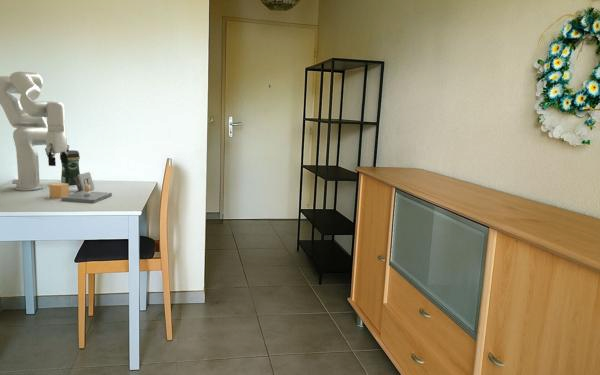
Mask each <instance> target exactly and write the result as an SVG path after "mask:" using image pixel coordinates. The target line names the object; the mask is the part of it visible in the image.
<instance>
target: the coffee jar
mask: <svg viewBox="0 0 600 375" xmlns="http://www.w3.org/2000/svg"><path fill="white" fill-rule="evenodd" d="M61 155H62V154H61V153H59V160H60V161H61ZM80 158H81V156H80V152H79V151H78V150H75V149H74V150H72V149H71V150H69V152H68V163H67V164H66V163H61V175H60V176H61V179H60V183H66V184H68V186H72V185H74V186H75V185H76V182H75V178H74V177H77V176H78V175H79V174H81V172H80V166H79V165H80V163H79V162H80ZM78 184H79V183H78Z"/></svg>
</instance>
